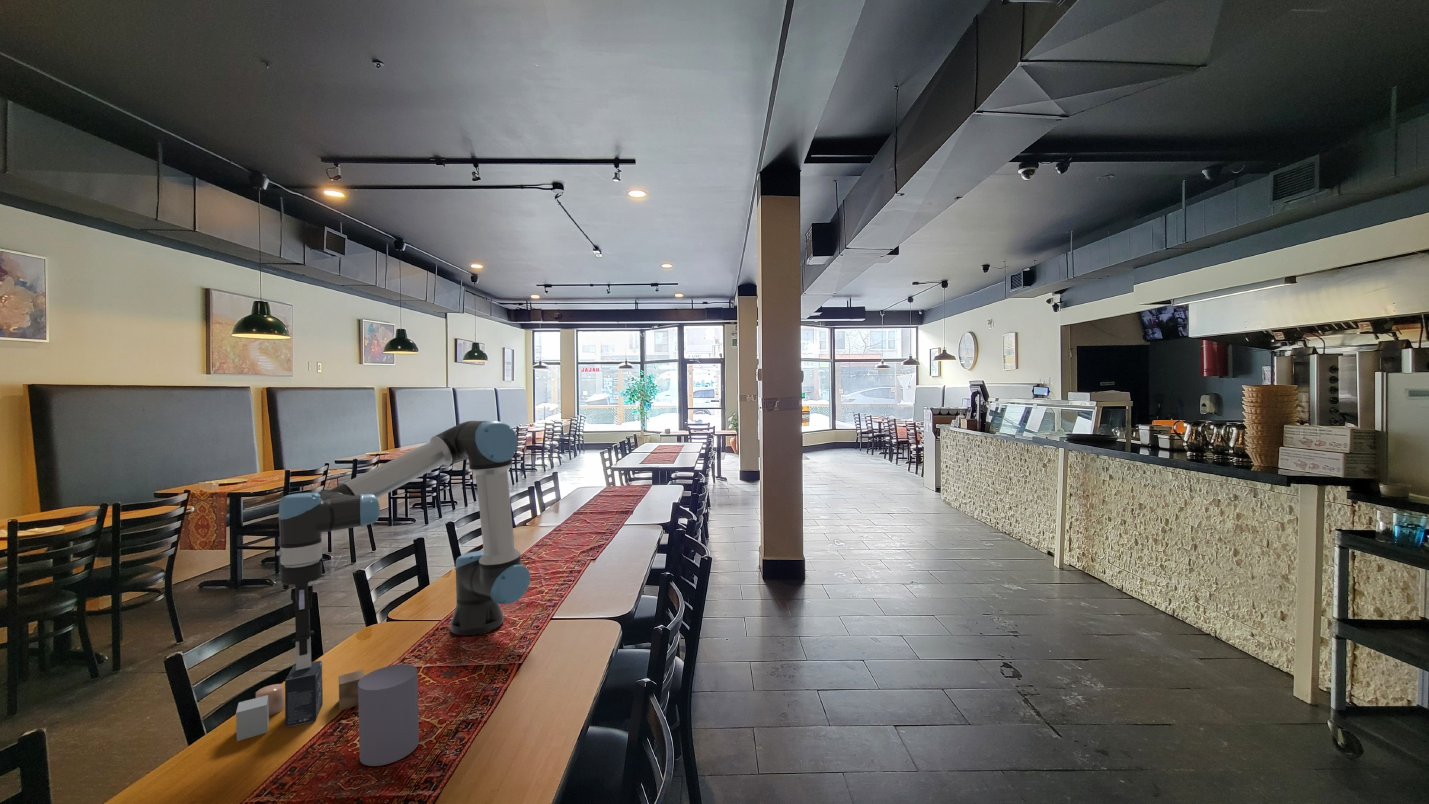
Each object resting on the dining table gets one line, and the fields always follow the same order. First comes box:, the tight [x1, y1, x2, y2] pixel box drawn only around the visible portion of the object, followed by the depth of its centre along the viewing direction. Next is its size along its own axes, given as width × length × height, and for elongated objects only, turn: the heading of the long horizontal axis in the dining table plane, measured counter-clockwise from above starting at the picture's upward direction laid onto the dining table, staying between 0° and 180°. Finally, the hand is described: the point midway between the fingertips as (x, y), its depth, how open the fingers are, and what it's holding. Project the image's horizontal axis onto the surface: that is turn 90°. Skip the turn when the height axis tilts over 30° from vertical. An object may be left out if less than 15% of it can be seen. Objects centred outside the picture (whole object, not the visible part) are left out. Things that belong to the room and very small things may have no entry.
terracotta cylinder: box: [255, 683, 285, 717], centre depth 126 cm, size 5×5×5 cm
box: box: [284, 660, 324, 728], centre depth 124 cm, size 8×6×11 cm
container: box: [358, 663, 420, 767], centre depth 111 cm, size 10×10×15 cm
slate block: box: [235, 695, 270, 742], centre depth 119 cm, size 5×5×6 cm
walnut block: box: [338, 669, 365, 711], centre depth 130 cm, size 5×5×6 cm
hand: (303, 667), depth 124 cm, fingers closed
